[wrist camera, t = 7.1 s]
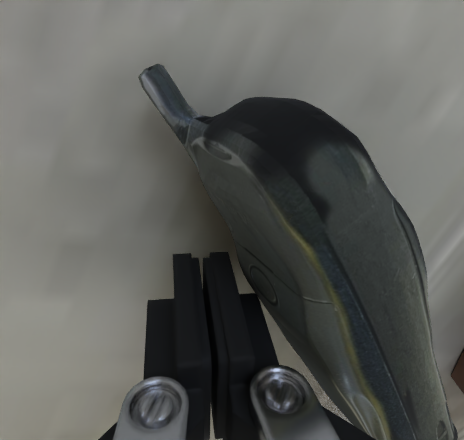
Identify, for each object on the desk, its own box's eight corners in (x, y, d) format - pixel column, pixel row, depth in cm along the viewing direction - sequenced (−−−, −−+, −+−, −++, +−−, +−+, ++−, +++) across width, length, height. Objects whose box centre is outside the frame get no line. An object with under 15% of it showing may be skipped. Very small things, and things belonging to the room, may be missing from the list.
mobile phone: (482, 444, 13) (370, -11, 5) (420, 508, 13) (184, 124, 4) (373, 351, 17) (213, 20, 9) (323, 397, 17) (108, 91, 9)
